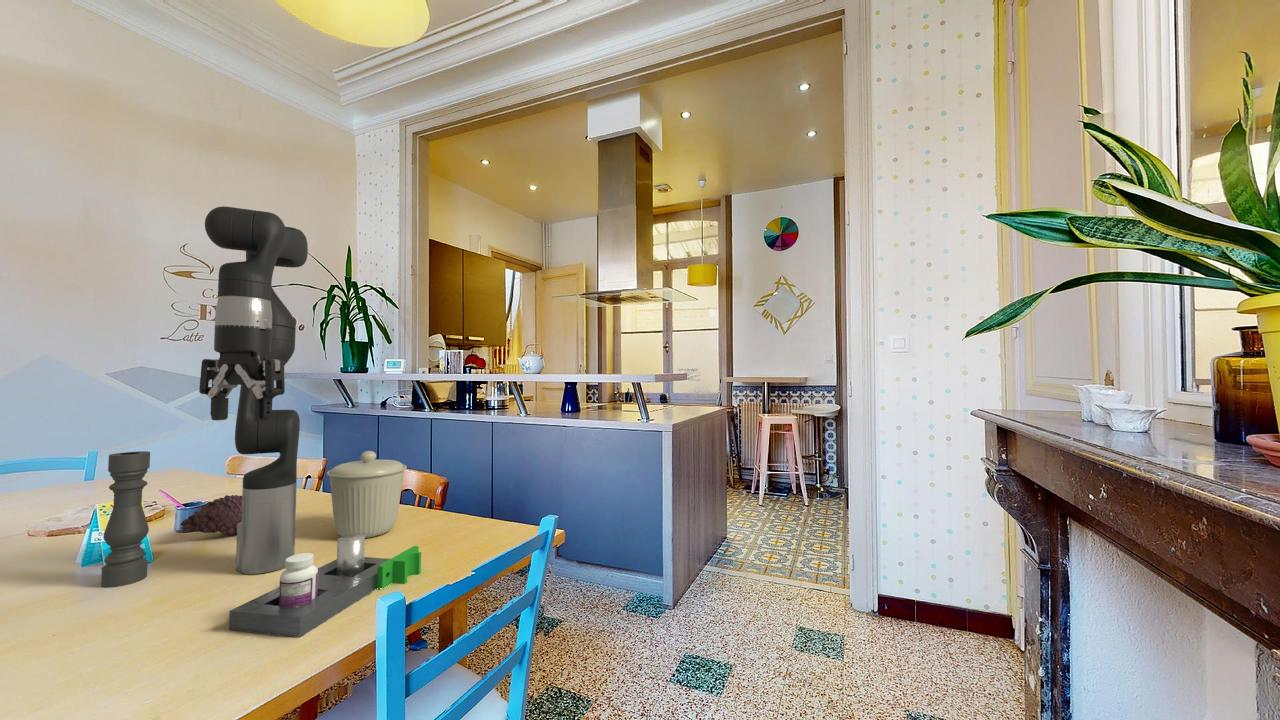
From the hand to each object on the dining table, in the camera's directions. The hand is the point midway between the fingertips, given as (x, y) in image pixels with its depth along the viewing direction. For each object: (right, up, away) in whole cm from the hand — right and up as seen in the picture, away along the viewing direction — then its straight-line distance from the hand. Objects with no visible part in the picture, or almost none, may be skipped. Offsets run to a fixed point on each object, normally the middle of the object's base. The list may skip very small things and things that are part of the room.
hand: (241, 420), depth 81 cm
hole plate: (+10, -33, +6) cm, 35 cm away
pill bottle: (+9, -33, +1) cm, 35 cm away
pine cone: (-37, -35, +40) cm, 65 cm away
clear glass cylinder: (+11, -34, +12) cm, 37 cm away
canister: (-3, -35, +43) cm, 55 cm away
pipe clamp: (+20, -34, +16) cm, 42 cm away
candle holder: (-34, -34, +13) cm, 50 cm away
